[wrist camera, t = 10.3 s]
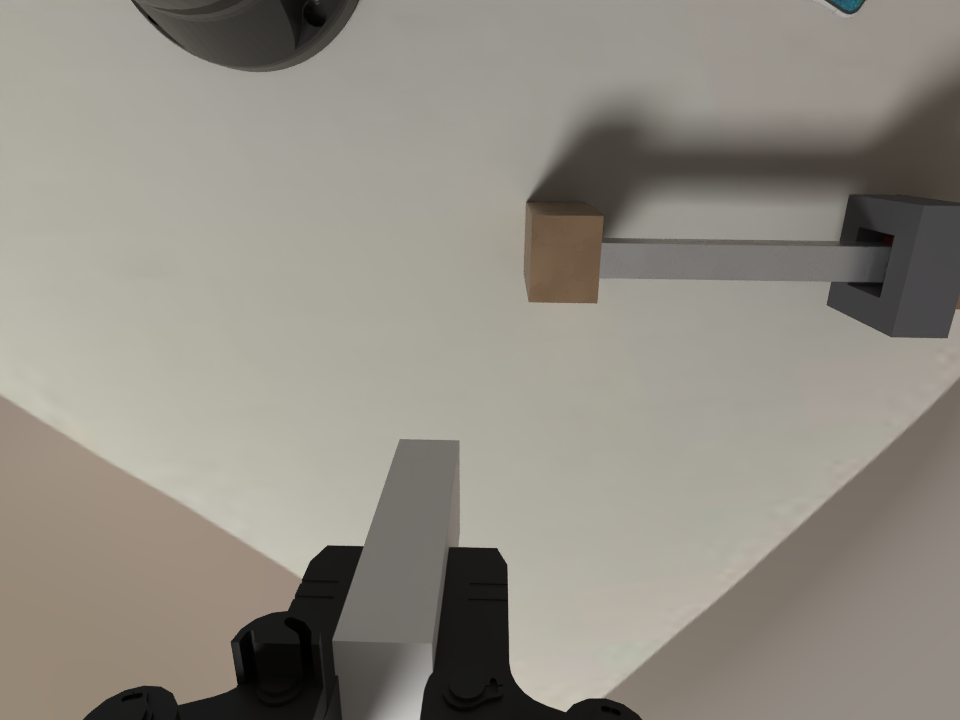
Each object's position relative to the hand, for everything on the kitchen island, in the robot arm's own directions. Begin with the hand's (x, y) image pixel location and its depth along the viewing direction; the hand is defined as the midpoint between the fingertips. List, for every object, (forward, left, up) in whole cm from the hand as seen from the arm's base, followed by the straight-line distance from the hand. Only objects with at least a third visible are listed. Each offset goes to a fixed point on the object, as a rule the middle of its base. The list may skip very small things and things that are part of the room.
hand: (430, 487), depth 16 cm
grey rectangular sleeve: (-2, +25, -26) cm, 36 cm away
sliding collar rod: (-2, +18, -29) cm, 34 cm away
